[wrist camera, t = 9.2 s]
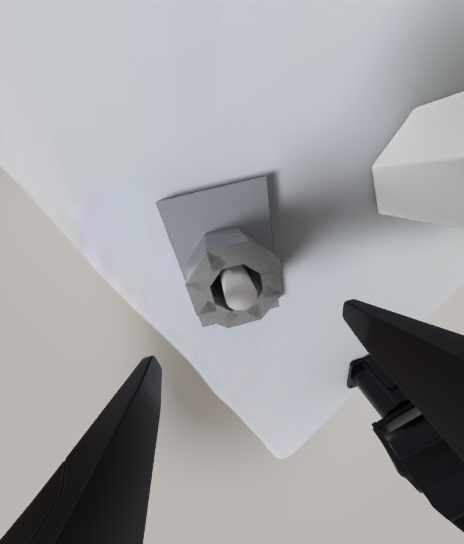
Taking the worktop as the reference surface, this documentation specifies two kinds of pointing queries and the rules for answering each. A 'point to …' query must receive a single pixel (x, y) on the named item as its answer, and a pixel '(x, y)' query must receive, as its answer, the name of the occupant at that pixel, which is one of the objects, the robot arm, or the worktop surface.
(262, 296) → the hub ring
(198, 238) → the block
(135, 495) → the robot arm
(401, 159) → the jar
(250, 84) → the worktop surface
